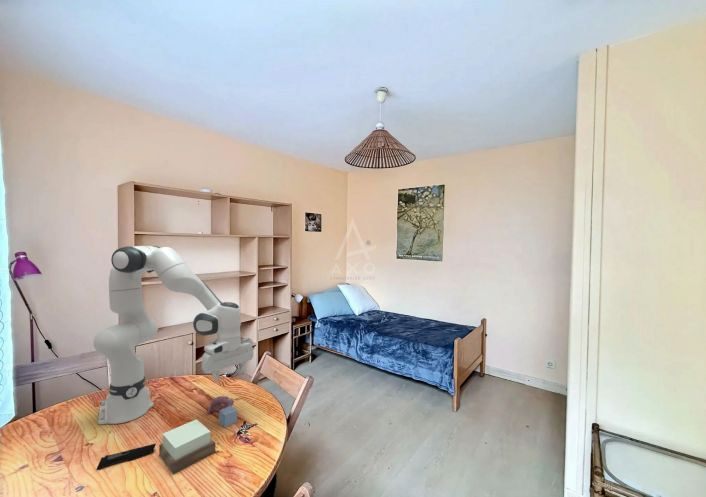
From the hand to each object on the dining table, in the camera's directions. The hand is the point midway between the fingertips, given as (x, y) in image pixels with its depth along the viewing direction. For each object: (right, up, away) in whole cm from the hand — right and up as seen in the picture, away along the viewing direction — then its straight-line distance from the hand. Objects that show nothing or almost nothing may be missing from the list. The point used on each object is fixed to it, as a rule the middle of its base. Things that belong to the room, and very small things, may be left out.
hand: (228, 376), depth 118 cm
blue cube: (0, -19, 0) cm, 19 cm away
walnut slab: (-6, -19, -18) cm, 27 cm away
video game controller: (-7, -19, +7) cm, 21 cm away
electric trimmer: (-25, -19, -21) cm, 38 cm away
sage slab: (-7, -15, -19) cm, 25 cm away
